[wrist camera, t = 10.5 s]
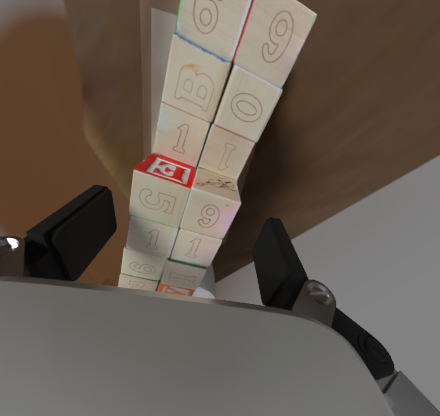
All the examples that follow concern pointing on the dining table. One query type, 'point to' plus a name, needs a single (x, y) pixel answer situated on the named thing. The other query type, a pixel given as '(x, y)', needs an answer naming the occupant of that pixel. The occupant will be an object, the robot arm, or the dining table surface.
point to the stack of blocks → (207, 134)
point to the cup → (206, 285)
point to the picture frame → (161, 70)
